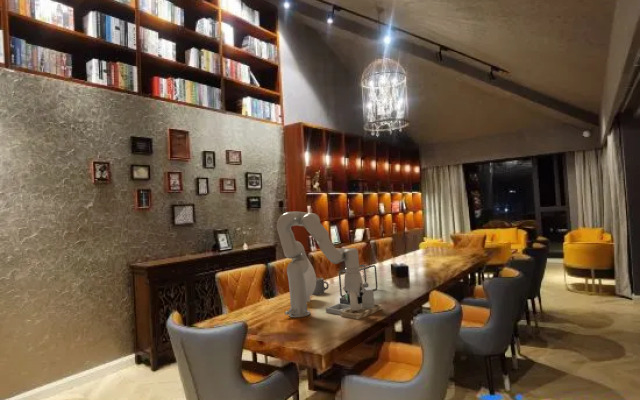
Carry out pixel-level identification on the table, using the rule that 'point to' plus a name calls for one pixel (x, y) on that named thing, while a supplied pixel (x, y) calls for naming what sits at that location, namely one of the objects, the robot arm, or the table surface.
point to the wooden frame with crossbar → (360, 312)
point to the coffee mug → (320, 286)
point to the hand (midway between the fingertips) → (355, 302)
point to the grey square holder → (344, 301)
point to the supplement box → (368, 299)
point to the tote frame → (334, 308)
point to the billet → (354, 301)
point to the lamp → (310, 281)
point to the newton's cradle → (363, 275)
